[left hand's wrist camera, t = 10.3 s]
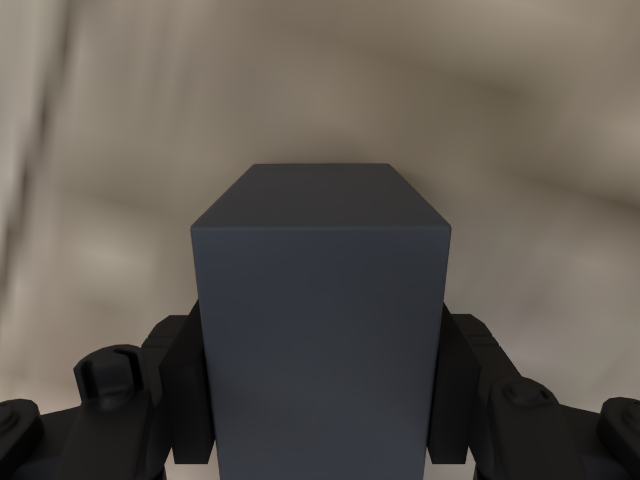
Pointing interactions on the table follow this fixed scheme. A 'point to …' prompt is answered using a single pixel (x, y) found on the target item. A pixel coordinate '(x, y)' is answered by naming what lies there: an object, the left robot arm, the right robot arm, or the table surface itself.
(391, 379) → the beam
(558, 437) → the left robot arm
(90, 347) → the table surface
